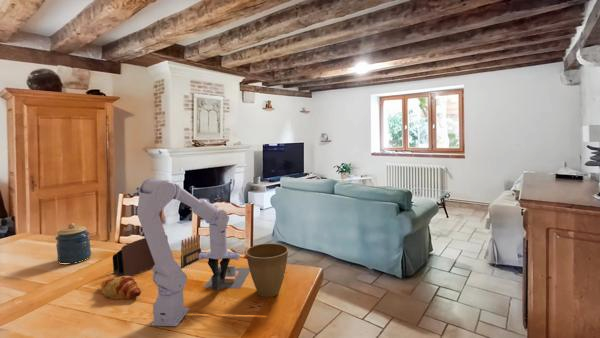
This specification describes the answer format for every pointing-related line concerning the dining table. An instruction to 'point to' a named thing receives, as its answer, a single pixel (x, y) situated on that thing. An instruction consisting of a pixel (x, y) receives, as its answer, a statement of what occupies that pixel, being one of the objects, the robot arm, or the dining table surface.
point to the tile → (231, 278)
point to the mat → (238, 282)
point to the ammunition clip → (190, 251)
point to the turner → (217, 277)
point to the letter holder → (133, 258)
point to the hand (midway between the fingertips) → (220, 277)
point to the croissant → (120, 288)
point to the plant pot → (267, 267)
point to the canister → (73, 244)
